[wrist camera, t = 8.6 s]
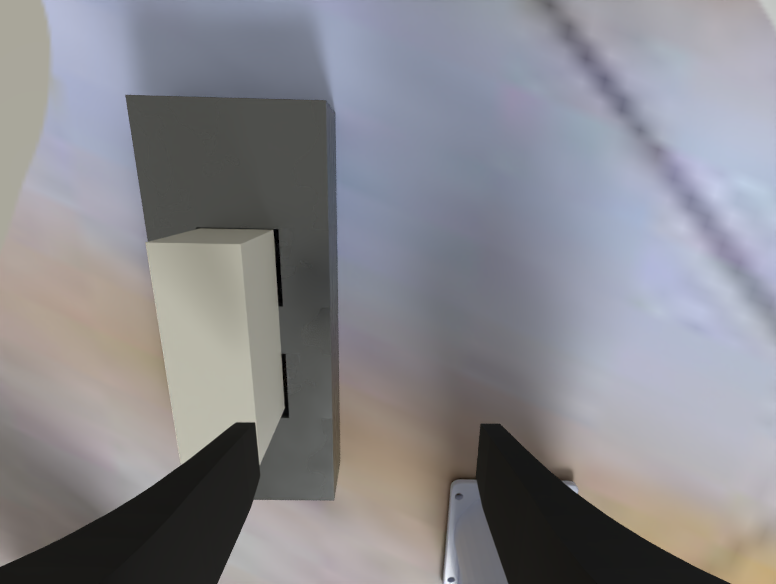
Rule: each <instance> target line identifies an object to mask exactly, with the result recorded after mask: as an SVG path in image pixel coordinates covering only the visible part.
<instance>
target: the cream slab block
mask: <svg viewBox="0 0 776 584" xmlns="http://www.w3.org/2000/svg"><path fill="white" fill-rule="evenodd" d="M145 243H146V249H147V255H148V262H149V268H150V274H151V281H152V287H153V293H154V300H155V306H156V312H157V318H158V325H159V331H160V337H161V344H162V350H163V356H164V363H165V369H166V375H167V382H168V388H169V394H170V401H171V407H172V413H173V420H174V426H175V432H176V439H177V445H178V451H179V457H180V464H183V463H185V462H186V461H187V460H189V459H190V458H191V457H192V456H194V455H195V454H196V453H198V452H199V451H200V450H201V449H203V448H204V447H205V446H206V445H208V444H209V443H210V442H211V441H213V440H214V439H215V438H216V437H218V436H219V435H220V434H221V433H223V432H224V431H225V430H227V429H228V428H229V427H230V426H232V425H233V424H234V423H236V422H255V425H256V435H257V445H258V455H259V465H260V464H261V461H262V459H263V457H264V454H265V452H266V450H267V448H268V445H269V443H270V441H271V439H272V436H273V434H274V432H275V429H276V427H277V425H278V423H279V420H280V418H281V416H282V413H283V411H284V409H285V405H284V389H283V373H282V366H283V364H284V362H285V359H286V354H281V341H280V326H279V310H278V294H277V278H276V262H277V261H278V259H279V255H280V249H279V245H278V243H277V241H276V240H275V239H274V230H260V229H210V228H200V229H196V230H192V231H188V232H184V233H180V234H176V235H172V236H169V237H165V238H161V239H157V240H153V241H149V242H145Z"/></svg>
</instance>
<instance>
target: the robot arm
mask: <svg viewBox="0 0 776 584" xmlns="http://www.w3.org/2000/svg"><path fill="white" fill-rule="evenodd" d="M259 479H260V466H259V455H258V445H257V435H256V425H255V422H236V423H234V424H233V425H232V426H230V427H229V428H228V429H227V430H225V431H224V432H223V433H221V434H220V435H219V436H218V437H216V438H215V439H214V440H213V441H211V442H210V443H209V444H208V445H206V446H205V447H204V448H203V449H201V450H200V451H199V452H198V453H196V454H195V455H194V456H192V457H191V458H190V459H189V460H187V461H186V462H185V463H183V464H182V465H181V466H179V467H178V468H176V469H175V470H174V471H172V472H171V473H169V474H168V475H167V476H165V477H164V478H163V479H161V480H160V481H158V482H157V483H156V484H154V485H153V486H151V487H150V488H148V489H147V490H145V491H144V492H142V493H141V494H139V495H138V496H136V497H134V498H133V499H131V500H130V501H128V502H126V503H125V504H123V505H121V506H120V507H118V508H117V509H115V510H113V511H111V512H110V513H108V514H106V515H104V516H103V517H101V518H99V519H97V520H95V521H93V522H92V523H90V524H88V525H86V526H84V527H82V528H81V529H79V530H77V531H75V532H73V533H71V534H69V535H68V536H66V537H64V538H62V539H60V540H58V541H55V542H53V543H51V544H49V545H47V546H45V547H43V548H41V549H39V550H37V551H35V552H32V553H30V554H28V555H26V556H24V557H22V558H19V559H17V560H15V561H13V562H11V563H8V564H6V565H4V566H1V567H0V584H217V583H218V581H219V579H220V576H221V574H222V572H223V570H224V567H225V565H226V563H227V561H228V558H229V556H230V554H231V552H232V549H233V547H234V545H235V543H236V541H237V538H238V536H239V534H240V532H241V529H242V527H243V525H244V522H245V520H246V518H247V515H248V513H249V511H250V508H251V505H252V502H253V499H254V496H255V493H256V490H257V486H258V483H259ZM458 493H461V494H460V495H456V494H458ZM442 584H731V583H728V582H726V581H724V580H722V579H720V578H718V577H716V576H713V575H711V574H709V573H707V572H705V571H703V570H701V569H699V568H697V567H695V566H693V565H691V564H689V563H687V562H685V561H683V560H681V559H680V558H678V557H676V556H674V555H672V554H670V553H668V552H666V551H665V550H663V549H661V548H659V547H658V546H656V545H654V544H652V543H651V542H649V541H647V540H645V539H644V538H642V537H640V536H639V535H637V534H636V533H634V532H632V531H631V530H629V529H628V528H626V527H624V526H623V525H621V524H619V523H618V522H616V521H615V520H613V519H612V518H610V517H609V516H607V515H606V514H604V513H603V512H602V511H600V510H599V509H597V508H596V507H595V506H593V505H592V504H590V503H589V502H588V501H586V500H585V499H583V498H582V497H581V496H580V495H578V487H577V486H576V484H575V483H574V482H573V481H561V480H560V479H558V478H557V477H556V476H555V475H554V474H553V473H551V472H550V471H549V470H548V469H547V468H546V467H545V466H543V465H542V464H541V463H540V462H539V461H538V460H537V459H536V458H535V457H534V456H533V455H531V454H530V453H529V452H528V451H527V450H526V449H525V448H524V447H523V446H522V445H521V444H520V443H519V442H518V441H517V440H516V439H515V438H514V437H513V436H512V435H511V434H510V433H509V432H508V431H507V430H506V429H505V428H504V427H503V426H502V425H500V424H481V425H480V436H479V447H478V459H477V470H476V480H465V479H459V480H455V481H453V482H452V483H451V488H450V500H449V512H448V524H447V536H446V547H445V559H444V571H443V583H442Z"/></svg>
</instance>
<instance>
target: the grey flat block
mask: <svg viewBox="0 0 776 584" xmlns="http://www.w3.org/2000/svg"><path fill="white" fill-rule="evenodd" d="M125 96H126V102H127V109H128V115H129V122H130V128H131V135H132V141H133V147H134V154H135V160H136V167H137V173H138V180H139V186H140V193H141V199H142V206H143V212H144V219H145V225H146V232H147V238H148V242H149V241H153V240H157V239H161V238H165V237H169V236H172V235H176V234H180V233H184V232H188V231H192V230H196V229H200V228H210V229H225V228H254V229H279V246H280V263H281V281H282V289H277V294H278V310H279V326H280V341H281V354H286V368H287V386H288V387H283V389H284V405H285V409H284V411H283V413H282V416H281V418H280V420H279V423H278V425H277V427H276V429H275V432H274V434H273V436H272V439H271V441H270V443H269V445H268V448H267V450H266V452H265V454H264V457H263V459H262V461H261V464H260V465H259V466H260V479H259V483H258V486H257V490H256V493H255V496H254V499H253V500H334V498H335V492H336V485H337V479H338V473H339V466H340V413H339V343H338V274H337V204H336V135H335V112H334V111H333V109H332V108H331V107H330V105H329V104H328V103H327V101H326V100H291V99H255V98H218V97H182V96H145V95H125Z"/></svg>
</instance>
